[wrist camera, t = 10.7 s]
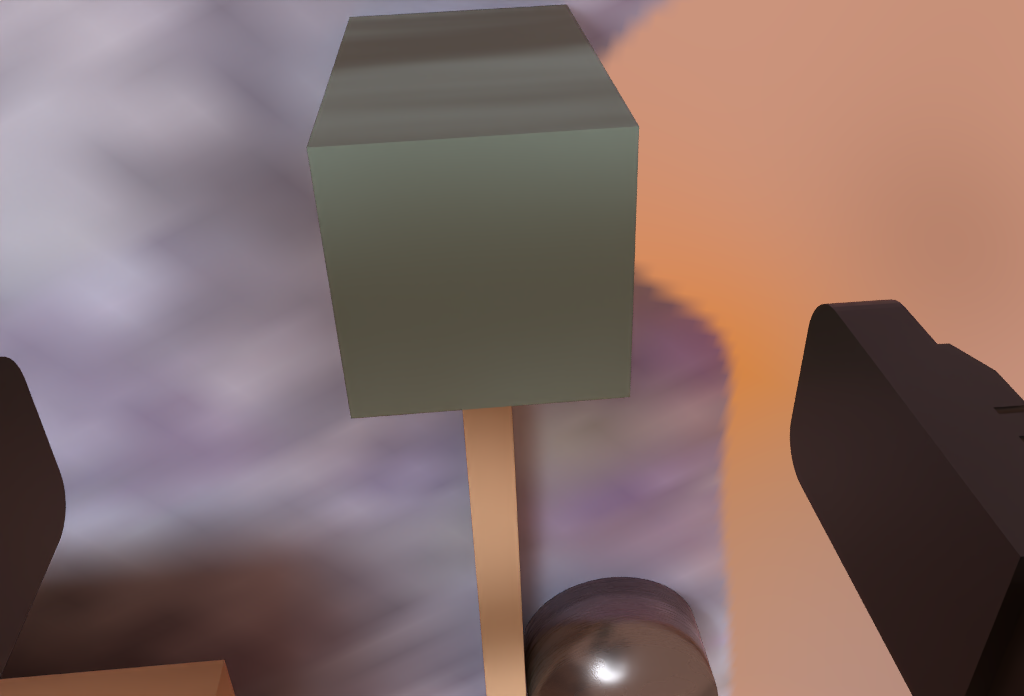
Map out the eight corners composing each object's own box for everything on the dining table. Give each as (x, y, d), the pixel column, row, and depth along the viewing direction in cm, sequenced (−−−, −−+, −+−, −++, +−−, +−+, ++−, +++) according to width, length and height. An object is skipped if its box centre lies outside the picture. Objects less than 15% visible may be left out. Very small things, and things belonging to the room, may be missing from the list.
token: (509, 590, 25) (517, 664, 23) (690, 559, 25) (714, 632, 23) (534, 705, 28) (543, 781, 26) (698, 678, 28) (720, 752, 26)
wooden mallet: (349, 17, 17) (306, 147, 11) (566, 4, 17) (638, 125, 11) (444, 754, 29) (448, 1011, 23) (572, 742, 29) (609, 994, 23)
